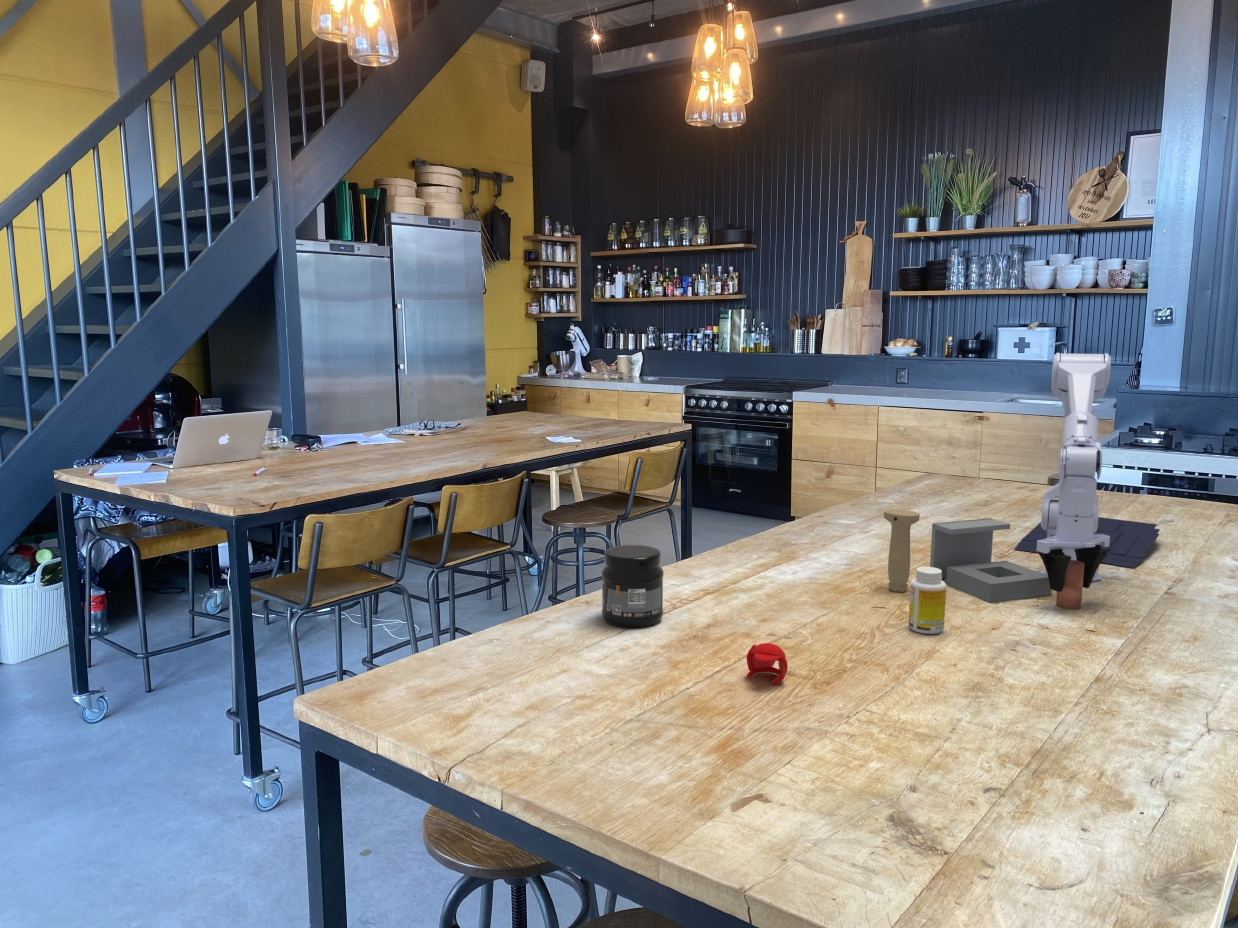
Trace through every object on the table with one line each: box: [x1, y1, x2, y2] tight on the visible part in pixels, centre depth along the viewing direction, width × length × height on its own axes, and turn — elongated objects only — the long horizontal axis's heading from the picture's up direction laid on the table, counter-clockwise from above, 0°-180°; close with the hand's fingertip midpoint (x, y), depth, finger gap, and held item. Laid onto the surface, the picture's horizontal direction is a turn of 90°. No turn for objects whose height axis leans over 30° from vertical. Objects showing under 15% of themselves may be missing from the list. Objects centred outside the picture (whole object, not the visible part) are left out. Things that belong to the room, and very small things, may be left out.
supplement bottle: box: [908, 566, 947, 635], centre depth 150 cm, size 6×6×10 cm
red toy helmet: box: [746, 642, 789, 685], centre depth 130 cm, size 7×6×6 cm
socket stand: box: [929, 517, 1053, 604], centre depth 174 cm, size 14×17×11 cm
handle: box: [883, 508, 920, 593], centre depth 171 cm, size 5×6×15 cm
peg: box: [1055, 560, 1085, 610], centre depth 162 cm, size 4×4×8 cm
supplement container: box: [600, 544, 665, 629], centre depth 155 cm, size 10×10×12 cm
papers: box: [1014, 516, 1161, 569], centre depth 205 cm, size 24×30×4 cm
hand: (1069, 588), depth 162 cm, fingers open, 6 cm apart
